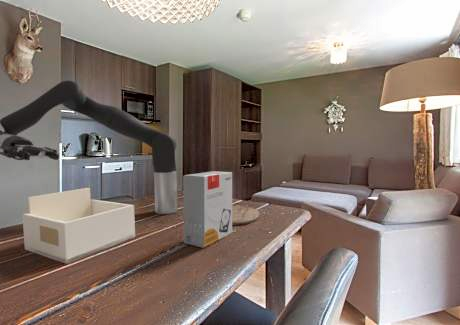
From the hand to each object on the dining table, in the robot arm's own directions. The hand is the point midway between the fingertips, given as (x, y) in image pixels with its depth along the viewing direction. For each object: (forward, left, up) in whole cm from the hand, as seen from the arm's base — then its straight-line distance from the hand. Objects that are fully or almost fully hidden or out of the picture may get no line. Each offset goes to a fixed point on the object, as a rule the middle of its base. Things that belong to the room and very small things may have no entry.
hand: (43, 156), depth 82 cm
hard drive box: (-50, +14, -26) cm, 58 cm away
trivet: (-60, -8, -26) cm, 66 cm away
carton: (-13, +9, -25) cm, 30 cm away
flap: (-6, +3, -24) cm, 24 cm away
